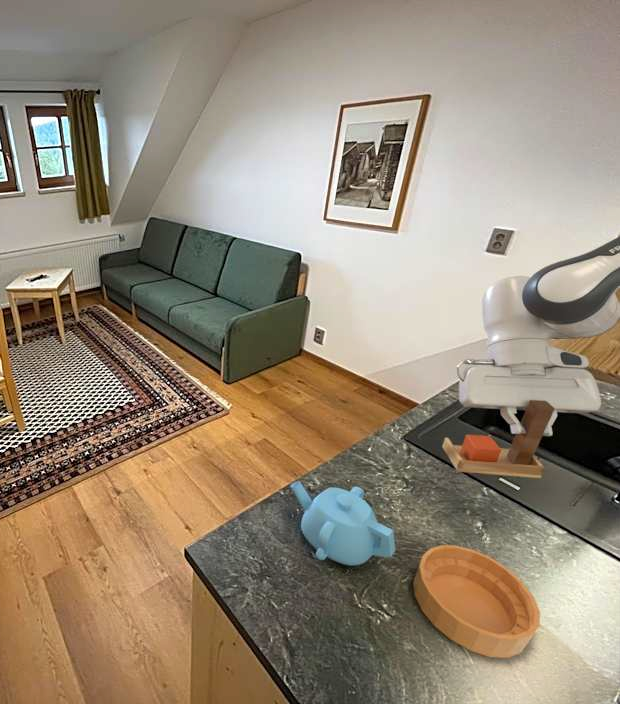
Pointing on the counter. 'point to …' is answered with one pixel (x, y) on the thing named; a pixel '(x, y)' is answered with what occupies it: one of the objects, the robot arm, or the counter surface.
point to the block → (480, 448)
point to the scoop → (511, 448)
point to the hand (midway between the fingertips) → (532, 434)
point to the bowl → (476, 601)
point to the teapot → (343, 526)
